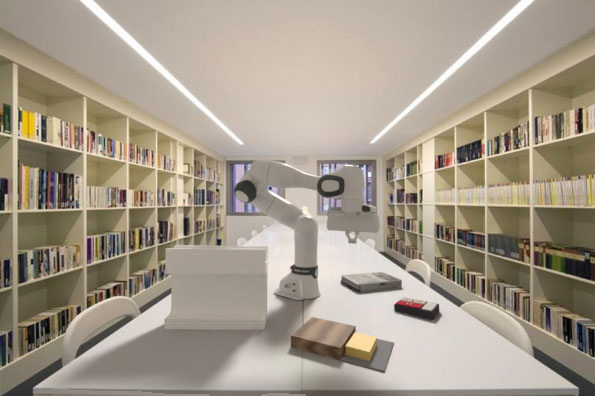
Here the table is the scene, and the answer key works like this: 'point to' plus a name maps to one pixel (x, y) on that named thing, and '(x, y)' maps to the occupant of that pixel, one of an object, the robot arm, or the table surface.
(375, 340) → the yellow rectangular block
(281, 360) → the table surface
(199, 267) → the block
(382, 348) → the mat
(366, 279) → the hard drive
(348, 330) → the panel
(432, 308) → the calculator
